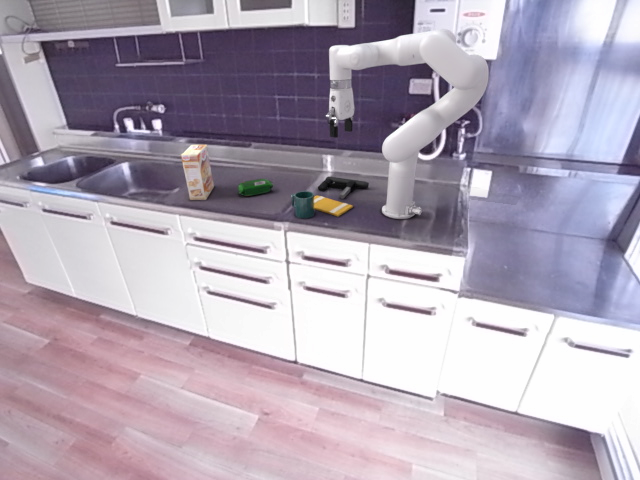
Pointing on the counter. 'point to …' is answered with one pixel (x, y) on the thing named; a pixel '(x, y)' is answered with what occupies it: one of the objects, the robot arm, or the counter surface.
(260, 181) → the snack package
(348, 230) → the counter surface
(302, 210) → the teal mug
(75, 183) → the counter surface
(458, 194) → the counter surface
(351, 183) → the black toy gun
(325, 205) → the towel
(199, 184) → the coffeecake box
